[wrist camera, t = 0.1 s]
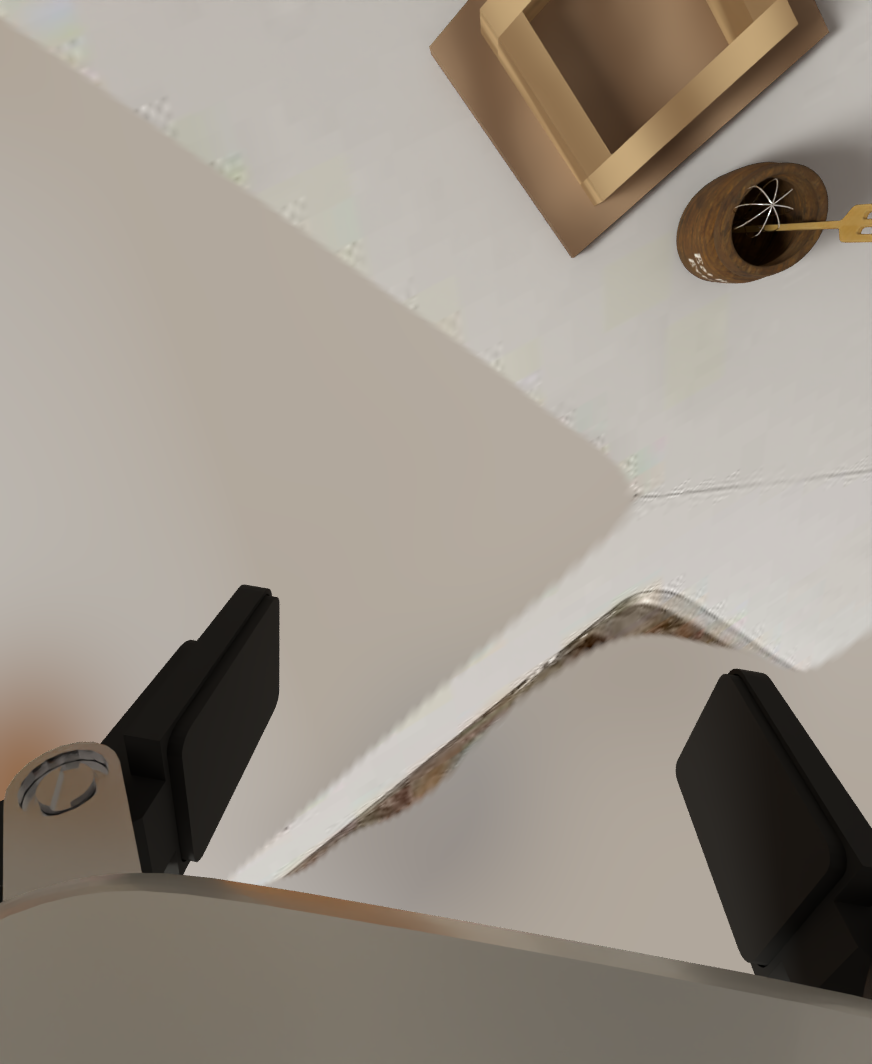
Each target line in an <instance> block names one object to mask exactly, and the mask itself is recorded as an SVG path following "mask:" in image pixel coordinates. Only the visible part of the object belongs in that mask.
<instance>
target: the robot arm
mask: <svg viewBox="0 0 872 1064" xmlns="http://www.w3.org/2000/svg"><path fill="white" fill-rule="evenodd" d="M278 696H279V599H278V598H277V597H273V596H272V593H271V590H270V589H267V588H261V587H256V586H250V585H241V586H240V587H239V588H238V590H237V591H236V592H235V593H234V595H233V596H232V597H231V598H230V600H229V601H228V602H227V603H226V605H225V606H224V607H223V609H222V610H221V611H220V612H219V614H218V615H217V616H216V617H215V619H214V620H213V621H212V622H211V624H210V625H209V626H208V628H207V629H206V630H205V631H204V633H203V634H202V635H201V636H200V638H199V639H198V640H197V641H194V640H189V641H186V642H185V643H184V644H182V645H181V646H180V647H179V649H178V650H177V651H176V652H175V654H174V655H173V656H172V657H171V658H170V660H169V661H168V662H167V663H166V664H165V666H164V667H163V668H162V669H161V671H160V672H159V673H158V674H157V675H156V677H155V678H154V679H153V681H152V682H151V683H150V684H149V685H148V686H147V688H146V689H145V690H144V691H143V693H142V694H141V695H140V696H139V697H138V699H137V700H136V701H135V702H134V704H133V705H132V706H131V707H130V708H129V710H128V711H127V712H126V713H125V714H124V716H123V717H122V718H121V719H120V721H119V722H118V723H117V724H116V726H115V727H114V728H113V729H112V730H111V732H110V733H109V734H108V735H107V736H106V738H105V739H104V740H103V741H102V742H101V744H99V743H95V742H77V743H72V744H68V745H64V746H60V747H58V748H55V749H53V750H50V751H48V752H46V753H44V754H42V755H41V756H39V757H37V758H36V759H34V760H33V761H31V762H30V763H28V764H27V765H26V766H25V767H24V768H23V769H22V770H21V771H20V772H19V773H18V774H17V775H16V776H15V777H14V779H13V780H12V782H11V783H10V785H9V786H8V788H7V791H6V794H5V799H4V800H2V801H0V1064H872V828H871V827H870V825H869V824H868V822H867V821H866V819H865V818H864V816H863V815H862V813H861V812H860V810H859V809H858V807H857V806H856V804H855V803H854V802H853V800H852V799H851V797H850V796H849V794H848V793H847V791H846V790H845V788H844V787H843V785H842V784H841V782H840V781H839V779H838V778H837V777H836V775H835V774H834V772H833V771H832V769H831V768H830V766H829V765H828V763H827V762H826V760H825V759H824V758H823V756H822V754H821V753H820V751H819V750H818V749H817V747H816V746H815V744H814V743H813V741H812V740H811V738H810V737H809V735H808V734H807V732H806V731H805V729H804V728H803V726H802V725H801V723H800V722H799V720H798V719H797V718H796V716H795V715H794V713H793V712H792V710H791V709H790V707H789V706H788V704H787V703H786V701H785V700H784V698H783V697H782V695H781V694H780V693H779V691H778V690H777V688H776V687H775V685H774V684H773V682H772V681H771V679H770V678H769V677H768V676H767V675H766V674H764V673H759V672H753V671H747V670H741V669H733V670H731V671H730V672H729V673H728V674H723V675H722V676H721V677H720V678H719V680H718V682H717V684H716V686H715V688H714V690H713V692H712V694H711V696H710V698H709V700H708V702H707V704H706V706H705V707H704V709H703V711H702V713H701V715H700V717H699V719H698V721H697V723H696V725H695V727H694V729H693V731H692V733H691V735H690V737H689V739H688V741H687V743H686V745H685V747H684V749H683V751H682V753H681V755H680V757H679V759H678V761H677V764H676V777H677V781H678V784H679V787H680V789H681V792H682V795H683V797H684V800H685V803H686V806H687V809H688V811H689V814H690V817H691V820H692V822H693V825H694V828H695V831H696V833H697V836H698V839H699V842H700V844H701V847H702V850H703V853H704V855H705V858H706V861H707V863H708V866H709V869H710V872H711V875H712V877H713V880H714V883H715V886H716V889H717V891H718V894H719V897H720V900H721V902H722V905H723V908H724V911H725V913H726V916H727V919H728V921H729V924H730V927H731V930H732V933H733V935H734V938H735V941H736V944H737V946H738V949H739V951H740V953H741V955H742V957H743V958H744V960H746V961H747V962H749V963H751V965H752V968H753V971H754V974H755V975H753V974H748V973H742V972H737V971H732V970H726V969H721V968H716V967H711V966H705V965H700V964H695V963H689V962H684V961H679V960H673V959H668V958H663V957H657V956H652V955H646V954H642V953H636V952H631V951H626V950H620V949H615V948H610V947H604V946H599V945H593V944H587V943H582V942H577V941H571V940H566V939H560V938H555V937H550V936H544V935H539V934H533V933H528V932H522V931H517V930H511V929H506V928H500V927H495V926H489V925H483V924H478V923H473V922H467V921H461V920H456V919H450V918H445V917H439V916H433V915H428V914H422V913H417V912H411V911H405V910H400V909H394V908H389V907H383V906H377V905H372V904H366V903H360V902H355V901H349V900H343V899H337V898H332V897H326V896H321V895H315V894H309V893H304V892H297V891H290V890H284V889H278V888H272V887H266V886H259V885H253V884H247V883H240V882H234V881H228V880H221V879H215V878H205V877H196V876H186V875H183V874H184V872H185V870H186V868H187V866H188V864H189V862H190V861H194V862H198V861H199V860H200V859H201V857H202V856H203V854H204V852H205V850H206V848H207V846H208V844H209V842H210V840H211V838H212V836H213V834H214V832H215V830H216V828H217V826H218V824H219V821H220V820H221V818H222V815H223V813H224V811H225V809H226V807H227V805H228V803H229V801H230V799H231V797H232V795H233V793H234V791H235V789H236V787H237V785H238V783H239V781H240V779H241V777H242V775H243V773H244V770H245V769H246V767H247V765H248V763H249V761H250V758H251V756H252V754H253V752H254V750H255V748H256V746H257V744H258V742H259V740H260V738H261V736H262V734H263V732H264V730H265V728H266V726H267V724H268V722H269V720H270V718H271V716H272V714H273V712H274V709H275V707H276V704H277V701H278Z"/></svg>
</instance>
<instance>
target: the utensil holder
mask: <svg viewBox="0 0 872 1064" xmlns="http://www.w3.org/2000/svg"><path fill="white" fill-rule="evenodd" d="M871 212H872V204H861V205H855V206H854V207H852V209H851V210H850V211H849V212H848V213H847V215H846V216H845V217H844V218H843V219H842V220H840V221H826V218H827V213H828V195H827V191H826V188H825V185H824V183H823V181H822V180H821V178H820V177H819V176H818V175H817V174H816V173H815V172H814V171H813V170H811V169H810V168H808V167H806V166H803V165H800V164H795V163H775V162H763V163H756V164H752V165H748V166H745V167H742V168H739V169H737V170H734V171H732V172H729V173H727V174H725V175H722V176H720V177H718V178H717V179H715V180H713V181H711V182H710V183H708V184H707V185H706V186H704V187H703V188H702V189H701V190H700V191H699V192H698V193H697V194H696V195H695V196H694V197H693V198H692V199H691V201H690V202H689V204H688V205H687V207H686V208H685V210H684V212H683V214H682V216H681V219H680V222H679V225H678V230H677V250H678V254H679V257H680V259H681V261H682V263H683V265H684V266H685V267H686V269H687V270H688V271H689V272H690V273H692V274H693V275H695V276H696V277H698V278H700V279H703V280H706V281H710V282H718V283H746V282H751V281H755V280H758V279H761V278H764V277H767V276H770V275H774V274H776V273H779V272H781V271H783V270H786V269H788V268H789V267H791V266H793V265H794V264H796V263H797V262H798V261H799V260H801V259H802V258H803V257H804V256H805V255H806V254H807V253H808V252H809V251H810V250H811V248H812V247H813V246H814V244H815V243H816V241H817V240H818V238H819V236H820V234H821V232H822V230H823V229H839V239H840V241H841V242H845V243H846V242H872V234H861V231H862V229H863V228H865V227H872V219H867V217H868V215H869V213H871Z"/></svg>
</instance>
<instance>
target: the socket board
mask: <svg viewBox="0 0 872 1064" xmlns="http://www.w3.org/2000/svg"><path fill="white" fill-rule="evenodd" d="M828 33H829V31H828V29H827V26H826V24H825V22H824V20H823V18H822V15H821V13H820V11H819V9H818V7H817V5H816V2H815V0H468V1H467V2H466V4H465V5H464V6H463V7H462V8H461V10H460V11H459V12H458V13H457V14H456V16H455V17H454V18H453V19H452V20H451V22H450V23H449V24H448V25H447V26H446V28H445V29H444V30H443V31H442V32H441V34H440V35H439V36H438V37H437V38H436V39H435V41H434V42H433V43H432V44H431V45H430V51H431V54H432V56H433V57H434V59H435V60H436V62H437V63H438V65H439V66H440V67H441V69H442V70H443V72H444V73H445V75H446V76H447V78H448V79H449V81H450V82H451V83H452V85H453V86H454V88H455V89H456V91H457V92H458V94H459V95H460V97H461V98H462V99H463V101H464V102H465V104H466V105H467V107H468V108H469V110H470V111H471V112H472V114H473V115H474V117H475V118H476V120H477V121H478V123H479V124H480V126H481V127H482V128H483V130H484V131H485V133H486V134H487V136H488V137H489V139H490V140H491V141H492V143H493V144H494V146H495V147H496V149H497V150H498V152H499V153H500V155H501V156H502V157H503V159H504V160H505V162H506V163H507V165H508V166H509V168H510V169H511V171H512V172H513V173H514V175H515V176H516V178H517V179H518V181H519V182H520V184H521V185H522V186H523V188H524V189H525V191H526V192H527V194H528V195H529V197H530V198H531V200H532V201H533V202H534V204H535V205H536V207H537V208H538V210H539V211H540V213H541V214H542V215H543V217H544V218H545V220H546V221H547V223H548V224H549V226H550V227H551V229H552V230H553V231H554V233H555V234H556V236H557V237H558V239H559V240H560V242H561V243H562V245H563V246H564V247H565V249H566V250H567V252H568V253H569V255H570V256H571V258H574V257H575V256H576V255H578V254H579V253H580V252H581V251H582V250H583V249H584V248H585V247H587V246H588V245H589V244H590V243H591V242H592V241H593V240H594V239H596V238H597V237H598V236H599V235H600V234H601V233H602V232H604V231H605V230H606V229H607V228H608V227H609V226H610V225H611V224H613V223H614V222H615V221H616V220H617V219H618V218H619V217H621V216H622V215H623V214H624V213H625V212H626V211H627V210H628V209H630V208H631V207H632V206H633V205H634V204H635V203H636V202H637V201H639V200H640V199H641V198H642V197H643V196H644V195H645V194H647V193H648V192H649V191H650V190H651V189H652V188H653V187H654V186H656V185H657V184H658V183H659V182H660V181H661V180H662V179H664V178H665V177H666V176H667V175H668V174H669V173H670V172H671V171H673V170H674V169H675V168H676V167H677V166H678V165H679V164H680V163H682V162H683V161H684V160H685V159H686V158H687V157H688V156H690V155H691V154H692V153H693V152H694V151H695V150H696V149H697V148H699V147H700V146H701V145H702V144H703V143H704V142H705V141H707V140H708V139H709V138H710V137H711V136H712V135H713V134H714V133H716V132H717V131H718V130H719V129H720V128H721V127H722V126H723V125H725V124H726V123H727V122H728V121H729V120H730V119H731V118H733V117H734V116H735V115H736V114H737V113H738V112H739V111H740V110H742V109H743V108H744V107H745V106H746V105H747V104H748V103H750V102H751V101H752V100H753V99H754V98H755V97H756V96H757V95H759V94H760V93H761V92H762V91H763V90H764V89H765V88H766V87H768V86H769V85H770V84H771V83H772V82H773V81H774V80H776V79H777V78H778V77H779V76H780V75H781V74H782V73H783V72H785V71H786V70H787V69H788V68H789V67H790V66H791V65H793V64H794V63H795V62H796V61H797V60H798V59H799V58H800V57H802V56H803V55H804V54H805V53H806V52H807V51H808V50H809V49H811V48H812V47H813V46H814V45H815V44H816V43H817V42H819V41H820V40H821V39H822V38H823V37H824V36H825V35H826V34H828Z"/></svg>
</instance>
